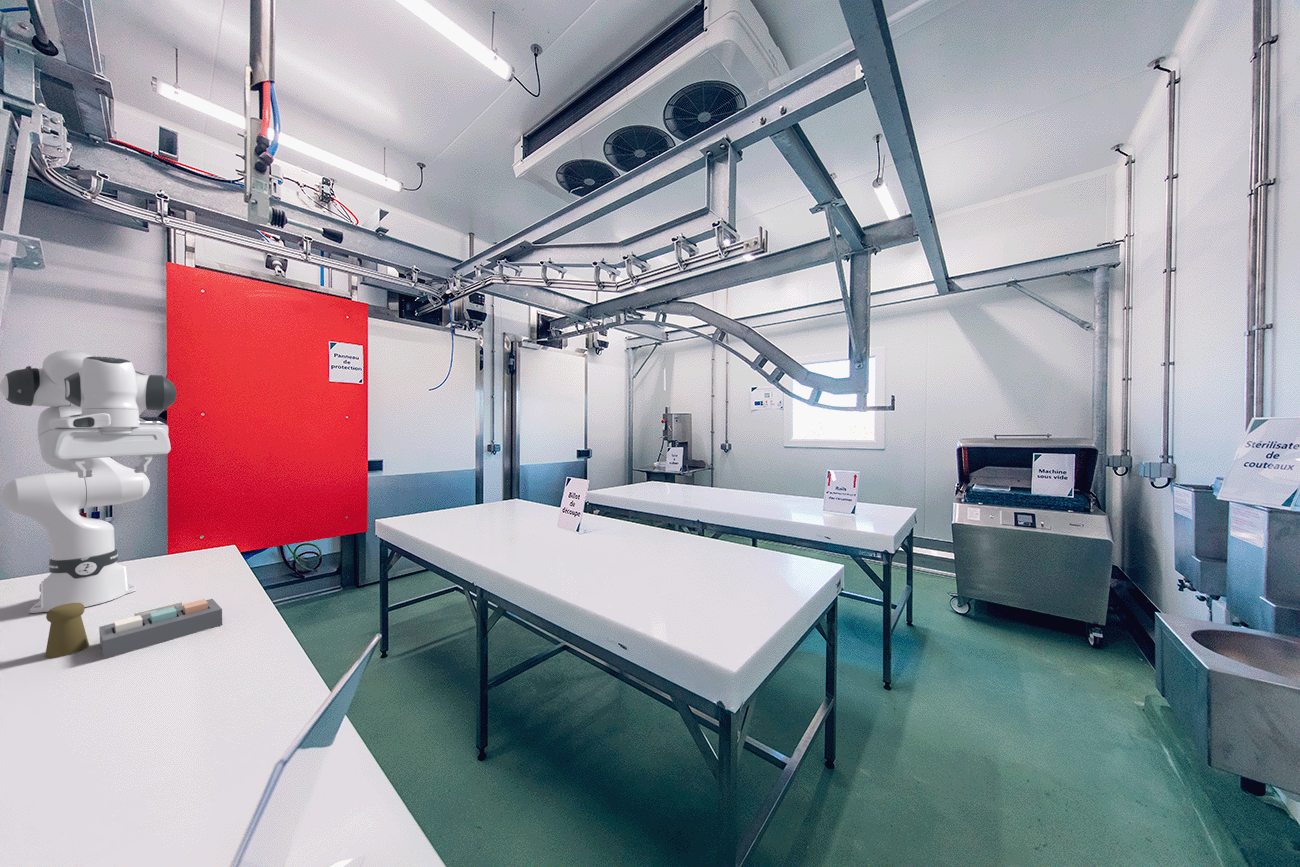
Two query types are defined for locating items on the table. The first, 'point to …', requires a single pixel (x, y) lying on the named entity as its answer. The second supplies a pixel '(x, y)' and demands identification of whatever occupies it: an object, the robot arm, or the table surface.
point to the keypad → (158, 629)
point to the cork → (66, 630)
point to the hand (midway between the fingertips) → (114, 474)
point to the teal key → (162, 615)
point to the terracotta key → (195, 606)
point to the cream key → (128, 623)
